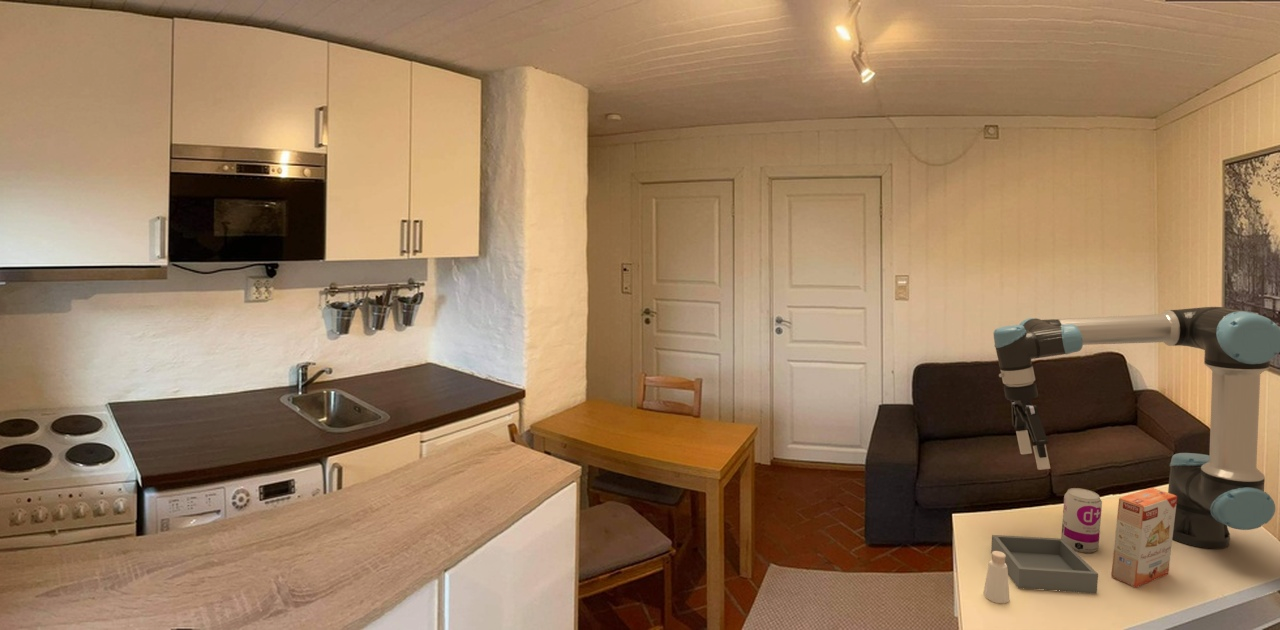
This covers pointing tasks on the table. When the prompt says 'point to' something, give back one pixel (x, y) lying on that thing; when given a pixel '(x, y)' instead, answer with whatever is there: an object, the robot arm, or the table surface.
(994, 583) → the pepper shaker
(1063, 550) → the grey square tray
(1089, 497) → the supplement can
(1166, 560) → the cracker box
